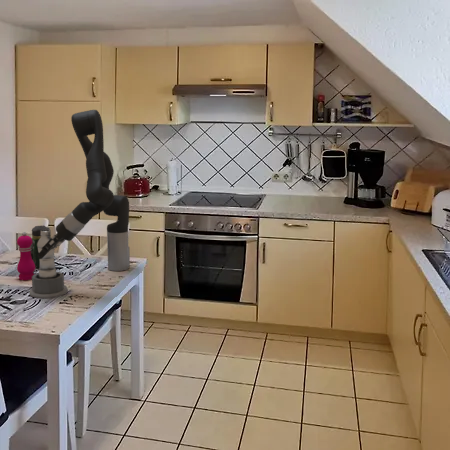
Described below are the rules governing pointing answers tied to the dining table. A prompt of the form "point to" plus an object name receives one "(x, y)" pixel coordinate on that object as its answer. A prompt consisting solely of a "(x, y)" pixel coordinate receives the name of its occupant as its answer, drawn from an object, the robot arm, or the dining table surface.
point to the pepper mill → (25, 258)
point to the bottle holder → (48, 286)
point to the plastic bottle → (46, 257)
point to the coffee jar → (35, 238)
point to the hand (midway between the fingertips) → (42, 255)
